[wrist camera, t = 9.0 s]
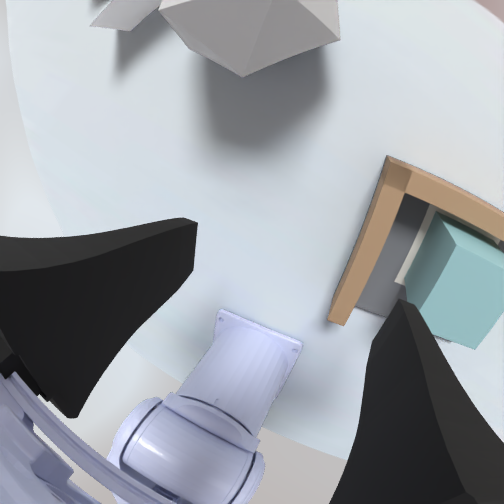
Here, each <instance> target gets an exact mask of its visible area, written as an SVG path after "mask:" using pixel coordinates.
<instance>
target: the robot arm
mask: <svg viewBox="0 0 504 504" xmlns="http://www.w3.org/2000/svg"><path fill="white" fill-rule="evenodd" d="M197 226H198V223H197V222H195V221H192V220H189V219H186V218H173V219H167V220H162V221H157V222H152V223H147V224H143V225H138V226H133V227H129V228H123V229H118V230H113V231H108V232H102V233H96V234H89V235H81V236H72V237H55V238H18V237H6V236H0V504H101V503H100V502H98V501H97V500H95V499H94V498H93V497H91V496H90V495H89V494H87V493H86V492H85V491H83V490H82V489H81V488H80V487H78V486H77V485H76V484H75V483H73V482H72V481H71V480H70V479H69V477H70V476H71V475H72V474H73V473H74V471H73V469H72V468H71V467H70V466H69V465H68V464H67V463H66V462H65V461H64V460H63V459H62V458H61V457H60V456H59V455H58V454H57V453H56V452H55V451H54V450H53V449H52V448H50V447H49V446H48V445H47V444H46V443H45V442H44V441H43V440H42V439H41V438H40V437H39V436H38V435H36V434H35V433H34V431H33V426H34V424H33V422H34V423H35V424H36V425H37V426H38V427H39V428H40V430H41V431H42V432H43V433H44V434H45V435H46V436H47V437H48V438H49V439H50V440H51V441H52V442H53V443H54V444H55V445H56V446H57V447H58V448H60V450H62V451H63V452H64V453H65V454H66V455H67V456H68V457H69V458H70V459H71V460H73V461H74V462H75V463H76V464H77V465H78V466H79V467H81V468H82V469H83V470H84V471H86V472H87V473H88V474H89V475H90V476H92V477H93V478H94V479H96V480H97V481H98V482H100V483H101V484H102V485H104V486H105V487H106V488H108V489H109V490H110V491H111V492H112V494H113V496H114V498H115V500H116V502H117V504H248V502H249V501H250V500H251V498H252V497H253V495H254V493H255V492H256V490H257V488H258V486H259V484H260V482H261V480H262V477H263V474H264V470H265V463H264V460H263V455H262V454H261V453H260V452H257V451H256V449H257V447H258V444H259V442H260V440H259V439H257V438H256V437H257V435H258V433H259V431H260V429H261V427H262V424H263V422H264V420H265V418H266V416H267V414H268V411H269V409H270V407H271V405H272V403H273V400H274V398H277V396H278V394H279V393H280V391H281V389H282V387H283V385H284V383H285V381H286V379H287V378H288V376H289V374H290V372H291V370H292V368H293V366H294V364H295V362H296V360H297V358H298V356H299V354H300V352H301V350H302V348H303V344H302V342H300V341H298V340H296V339H293V338H290V337H288V336H285V335H283V334H280V333H278V332H276V331H273V330H271V329H268V328H266V327H263V326H261V325H259V324H256V323H254V322H251V321H249V320H247V319H244V318H242V317H240V316H238V315H235V314H233V313H231V312H228V311H226V310H224V309H220V310H219V311H218V312H217V317H216V323H215V330H214V337H213V344H212V345H211V347H210V348H209V349H208V351H207V352H206V353H205V355H204V356H203V357H202V359H201V360H200V362H199V363H198V364H197V366H196V367H195V368H194V370H193V371H192V372H191V374H190V375H189V376H188V378H187V379H186V380H185V382H184V383H183V384H182V386H181V387H180V388H179V390H178V391H177V393H176V394H174V393H173V392H170V393H169V394H168V396H167V397H166V398H165V399H164V401H163V400H161V399H160V398H159V397H154V398H151V399H146V400H144V401H142V402H141V403H140V404H138V405H137V406H136V407H135V408H134V409H133V410H132V412H131V413H130V414H129V415H128V416H127V418H126V419H125V420H124V422H123V423H122V425H121V426H120V428H119V430H118V431H117V433H116V435H115V437H114V440H113V444H112V448H111V450H110V452H109V454H108V456H107V458H106V459H105V458H104V457H103V456H101V455H100V454H99V453H97V452H96V451H95V450H94V449H92V448H91V447H90V446H89V445H87V444H86V443H85V442H84V441H83V440H82V439H80V438H79V437H78V436H77V435H76V434H75V433H73V432H72V431H71V430H70V429H69V428H68V427H67V426H66V425H65V424H64V423H62V422H61V421H60V420H59V419H58V418H57V417H56V416H55V415H54V414H53V413H52V412H51V411H50V410H49V409H48V408H47V407H46V406H45V405H44V404H43V403H42V402H41V400H40V399H39V398H38V397H37V396H38V395H39V394H40V395H41V396H42V397H43V398H44V399H45V400H46V401H47V402H48V401H50V402H51V403H52V404H54V406H55V407H56V408H58V409H59V411H60V412H62V413H63V414H64V415H65V416H66V417H67V418H77V417H78V415H79V413H80V411H81V409H82V408H83V406H84V404H85V402H86V400H87V399H88V397H89V395H90V393H91V391H92V390H93V388H94V387H95V385H96V384H97V382H98V381H99V379H100V378H101V376H102V374H103V373H104V371H105V370H106V369H107V367H108V366H109V364H110V363H111V362H112V360H113V359H114V357H115V356H116V355H117V353H118V352H119V351H120V350H121V348H122V347H123V346H124V345H125V343H126V342H127V341H128V340H129V338H130V337H131V336H132V335H133V334H134V333H135V332H136V330H137V329H138V328H139V327H140V326H141V325H142V324H143V323H144V322H145V321H146V320H147V319H149V318H150V317H151V316H152V315H153V314H154V313H155V312H156V311H157V310H158V309H159V308H160V307H161V306H162V305H163V304H164V303H165V302H166V301H167V300H168V299H169V298H170V297H171V296H172V295H173V294H174V293H175V292H176V291H177V290H178V289H179V288H180V287H181V286H182V284H183V283H184V282H185V281H186V279H187V278H188V277H189V275H190V274H191V273H192V271H193V268H194V257H195V246H196V236H197ZM222 318H223V319H222ZM295 349H296V350H295ZM329 504H504V443H503V442H502V440H501V439H500V438H499V437H498V436H497V435H496V433H495V432H494V431H493V430H492V428H491V427H490V426H489V425H488V423H487V422H486V420H485V419H484V418H483V416H482V415H481V414H480V412H479V411H478V410H477V408H476V407H475V405H474V404H473V403H472V401H471V399H470V398H469V396H468V395H467V393H466V392H465V390H464V389H463V387H462V386H461V384H460V382H459V381H458V379H457V377H456V376H455V374H454V372H453V370H452V369H451V367H450V365H449V364H448V362H447V360H446V358H445V356H444V355H443V353H442V351H441V349H440V347H439V346H438V344H437V342H436V340H435V338H434V336H433V335H432V333H431V331H430V329H429V327H428V325H427V324H426V322H425V320H424V318H423V317H422V315H421V313H420V312H419V310H418V309H417V307H416V306H415V305H414V304H412V303H410V302H407V301H404V300H402V299H398V301H397V302H396V304H395V306H394V308H393V309H392V311H391V313H390V314H389V316H388V317H387V319H386V321H385V322H384V324H383V326H382V327H381V329H380V330H379V332H378V333H377V335H376V336H375V338H374V339H373V341H372V345H371V349H370V353H369V357H368V362H367V366H366V374H365V383H364V390H363V398H362V405H361V412H360V418H359V424H358V429H357V433H356V437H355V440H354V443H353V446H352V449H351V452H350V455H349V458H348V461H347V464H346V466H345V469H344V472H343V474H342V477H341V479H340V481H339V484H338V486H337V488H336V490H335V492H334V494H333V497H332V499H331V501H330V503H329Z"/></svg>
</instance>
